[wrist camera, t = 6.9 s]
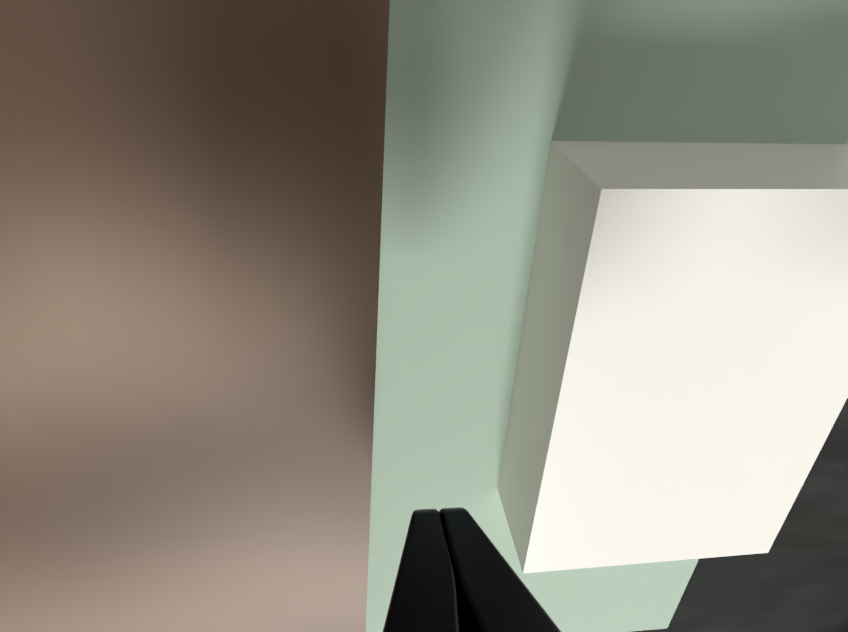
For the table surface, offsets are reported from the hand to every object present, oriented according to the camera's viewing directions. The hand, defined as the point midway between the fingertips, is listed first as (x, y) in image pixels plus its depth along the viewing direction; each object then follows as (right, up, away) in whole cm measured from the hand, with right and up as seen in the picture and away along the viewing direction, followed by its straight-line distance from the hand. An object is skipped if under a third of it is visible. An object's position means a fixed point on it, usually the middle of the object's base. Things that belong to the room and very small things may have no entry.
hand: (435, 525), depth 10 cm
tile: (+5, +1, +2) cm, 6 cm away
